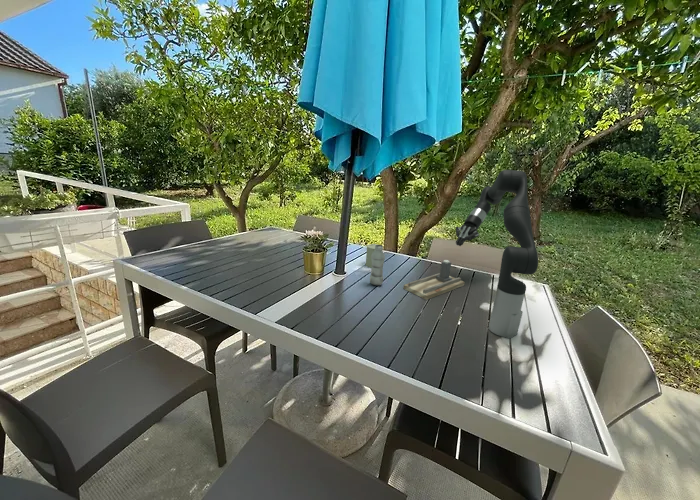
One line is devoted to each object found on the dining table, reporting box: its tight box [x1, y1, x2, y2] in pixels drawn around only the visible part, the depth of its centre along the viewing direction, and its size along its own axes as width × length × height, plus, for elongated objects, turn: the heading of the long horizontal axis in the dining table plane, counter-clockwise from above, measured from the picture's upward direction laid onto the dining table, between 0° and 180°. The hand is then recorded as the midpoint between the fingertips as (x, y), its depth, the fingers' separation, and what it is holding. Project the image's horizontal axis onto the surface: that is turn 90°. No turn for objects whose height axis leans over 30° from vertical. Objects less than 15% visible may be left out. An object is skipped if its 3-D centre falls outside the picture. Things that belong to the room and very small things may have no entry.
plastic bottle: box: [369, 244, 386, 286], centre depth 152 cm, size 6×7×20 cm
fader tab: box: [436, 259, 452, 282], centre depth 157 cm, size 6×5×10 cm
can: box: [365, 243, 379, 269], centre depth 179 cm, size 9×9×12 cm
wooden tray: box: [402, 272, 466, 301], centre depth 155 cm, size 14×30×4 cm, turn 128°
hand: (458, 244), depth 158 cm, fingers closed
